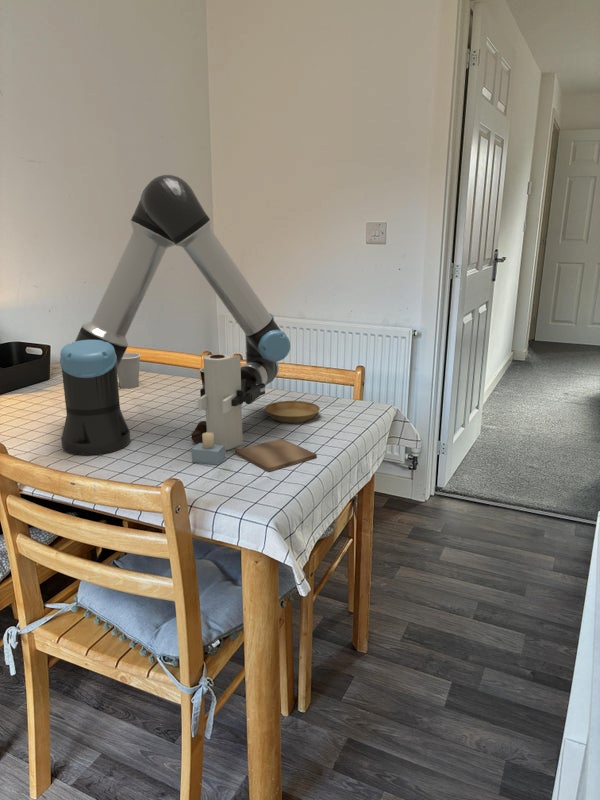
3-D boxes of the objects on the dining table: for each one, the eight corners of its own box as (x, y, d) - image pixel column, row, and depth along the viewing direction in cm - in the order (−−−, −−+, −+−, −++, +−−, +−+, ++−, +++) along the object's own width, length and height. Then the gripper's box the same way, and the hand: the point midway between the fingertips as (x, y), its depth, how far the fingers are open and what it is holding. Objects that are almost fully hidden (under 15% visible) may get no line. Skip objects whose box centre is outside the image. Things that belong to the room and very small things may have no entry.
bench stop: (200, 455, 130) (198, 429, 128) (225, 458, 128) (224, 432, 127) (192, 462, 126) (191, 435, 124) (218, 464, 124) (217, 438, 123)
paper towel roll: (202, 450, 133) (198, 357, 127) (214, 441, 138) (210, 352, 132) (232, 453, 131) (229, 360, 125) (242, 444, 136) (240, 354, 130)
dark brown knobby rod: (194, 452, 137) (222, 430, 151) (210, 444, 135) (237, 422, 148) (181, 430, 136) (211, 410, 150) (197, 422, 134) (226, 402, 148)
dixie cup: (110, 386, 186) (107, 355, 184) (131, 381, 193) (128, 351, 190) (127, 390, 182) (124, 359, 179) (148, 385, 188) (146, 354, 185)
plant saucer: (256, 413, 160) (256, 404, 160) (303, 406, 167) (303, 397, 166) (279, 429, 148) (279, 419, 147) (329, 421, 154) (330, 411, 154)
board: (268, 472, 121) (268, 468, 121) (234, 453, 131) (234, 450, 131) (316, 457, 129) (316, 454, 128) (281, 441, 138) (281, 438, 138)
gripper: (282, 397, 147) (251, 425, 125) (215, 392, 151) (174, 419, 130) (282, 368, 145) (250, 392, 123) (214, 363, 149) (172, 386, 128)
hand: (212, 405), depth 126 cm, fingers open, 5 cm apart
